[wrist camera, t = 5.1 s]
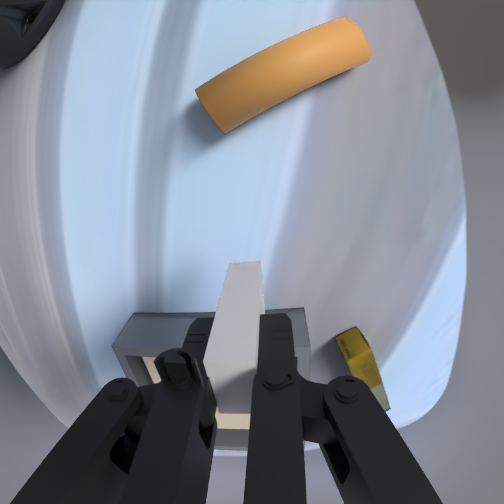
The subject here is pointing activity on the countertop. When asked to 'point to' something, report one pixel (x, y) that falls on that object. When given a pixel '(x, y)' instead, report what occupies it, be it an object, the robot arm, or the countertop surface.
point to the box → (172, 336)
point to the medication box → (362, 363)
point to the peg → (283, 72)
